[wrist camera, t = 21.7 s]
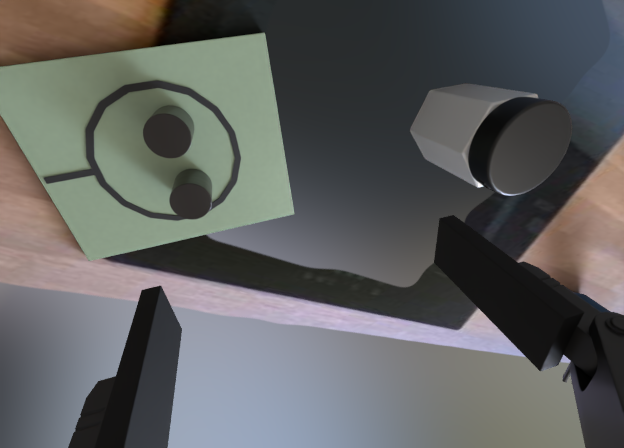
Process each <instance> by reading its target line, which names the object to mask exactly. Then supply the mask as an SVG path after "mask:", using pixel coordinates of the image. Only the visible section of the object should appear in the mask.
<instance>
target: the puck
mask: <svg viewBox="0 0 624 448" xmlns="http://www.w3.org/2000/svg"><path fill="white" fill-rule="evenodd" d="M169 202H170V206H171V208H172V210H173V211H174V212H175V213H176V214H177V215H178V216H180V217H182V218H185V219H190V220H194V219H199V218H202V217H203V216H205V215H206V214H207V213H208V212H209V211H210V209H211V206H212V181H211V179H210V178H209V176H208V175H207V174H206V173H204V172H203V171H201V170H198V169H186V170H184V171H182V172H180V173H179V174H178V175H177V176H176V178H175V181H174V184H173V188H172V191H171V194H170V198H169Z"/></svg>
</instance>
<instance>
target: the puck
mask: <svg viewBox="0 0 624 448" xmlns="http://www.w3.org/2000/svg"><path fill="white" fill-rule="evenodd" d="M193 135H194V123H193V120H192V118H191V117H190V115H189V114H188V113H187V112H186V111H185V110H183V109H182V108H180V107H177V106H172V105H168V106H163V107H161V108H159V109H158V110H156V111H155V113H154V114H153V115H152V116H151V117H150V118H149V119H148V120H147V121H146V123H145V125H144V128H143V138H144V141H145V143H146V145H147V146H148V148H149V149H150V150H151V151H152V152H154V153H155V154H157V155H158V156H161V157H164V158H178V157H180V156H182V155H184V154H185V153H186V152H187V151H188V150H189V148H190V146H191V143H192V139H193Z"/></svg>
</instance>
